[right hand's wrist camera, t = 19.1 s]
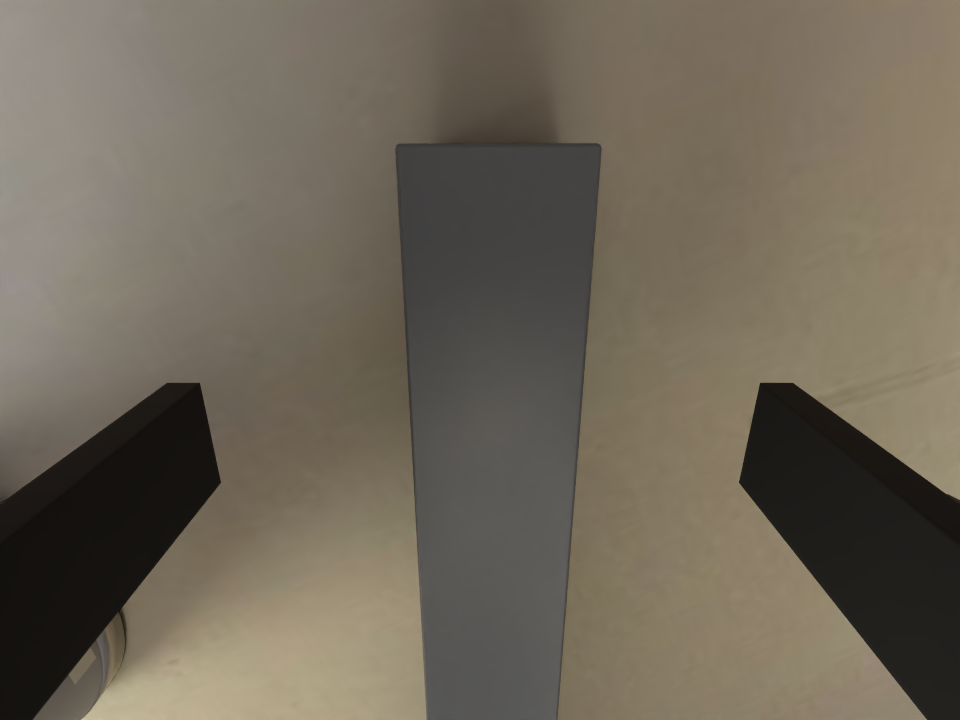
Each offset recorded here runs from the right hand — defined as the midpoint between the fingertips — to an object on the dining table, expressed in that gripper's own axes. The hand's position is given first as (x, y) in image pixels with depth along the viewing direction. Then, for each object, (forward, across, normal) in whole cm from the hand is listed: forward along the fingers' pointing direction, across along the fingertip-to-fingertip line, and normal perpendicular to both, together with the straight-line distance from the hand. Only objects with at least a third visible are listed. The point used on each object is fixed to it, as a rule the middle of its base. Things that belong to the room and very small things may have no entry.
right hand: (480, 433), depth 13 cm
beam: (+9, +1, -19) cm, 21 cm away
